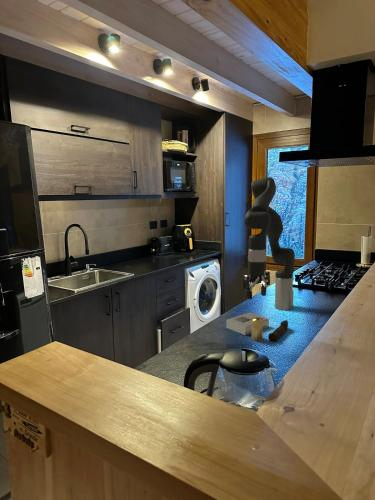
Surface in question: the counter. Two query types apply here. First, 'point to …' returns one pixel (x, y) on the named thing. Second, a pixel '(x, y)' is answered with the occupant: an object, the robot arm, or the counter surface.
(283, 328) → the hand tool
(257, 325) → the bushing
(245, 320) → the block
